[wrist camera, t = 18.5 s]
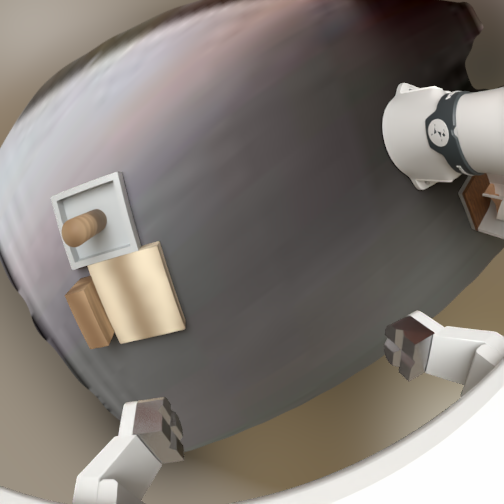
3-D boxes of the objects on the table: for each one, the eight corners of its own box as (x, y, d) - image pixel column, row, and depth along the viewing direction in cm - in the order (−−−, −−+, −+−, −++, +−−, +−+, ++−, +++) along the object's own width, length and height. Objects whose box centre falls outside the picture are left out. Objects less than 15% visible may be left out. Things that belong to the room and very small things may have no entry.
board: (159, 240, 36) (157, 245, 33) (185, 318, 39) (185, 329, 36) (94, 259, 34) (87, 266, 32) (124, 333, 38) (120, 343, 35)
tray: (122, 171, 32) (117, 171, 30) (141, 245, 35) (138, 250, 33) (58, 195, 30) (50, 197, 28) (78, 264, 33) (72, 270, 31)
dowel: (103, 206, 32) (80, 214, 24) (109, 228, 33) (89, 242, 25) (83, 213, 31) (58, 224, 24) (90, 234, 32) (66, 250, 25)
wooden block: (97, 273, 34) (83, 290, 29) (118, 323, 37) (108, 345, 31) (80, 278, 34) (64, 295, 28) (101, 327, 36) (90, 349, 31)
